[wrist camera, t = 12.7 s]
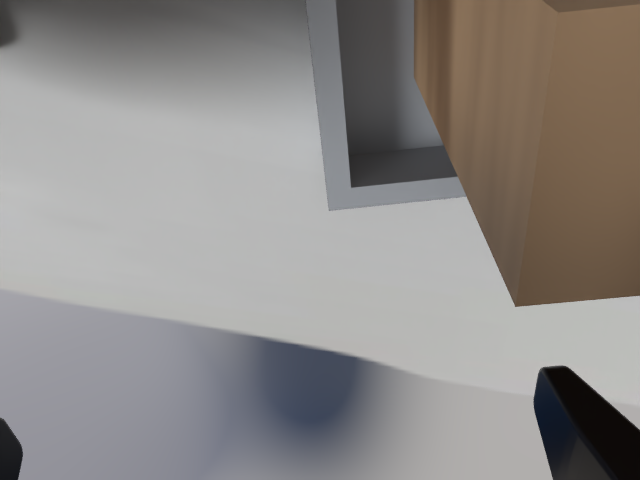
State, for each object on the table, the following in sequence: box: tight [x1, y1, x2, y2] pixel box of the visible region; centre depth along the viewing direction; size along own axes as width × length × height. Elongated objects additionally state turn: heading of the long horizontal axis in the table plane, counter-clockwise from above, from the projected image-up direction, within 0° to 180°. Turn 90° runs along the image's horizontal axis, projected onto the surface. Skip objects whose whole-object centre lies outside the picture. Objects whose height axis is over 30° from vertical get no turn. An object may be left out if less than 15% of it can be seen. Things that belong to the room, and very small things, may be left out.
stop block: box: [414, 0, 640, 307], centre depth 13 cm, size 5×5×11 cm
